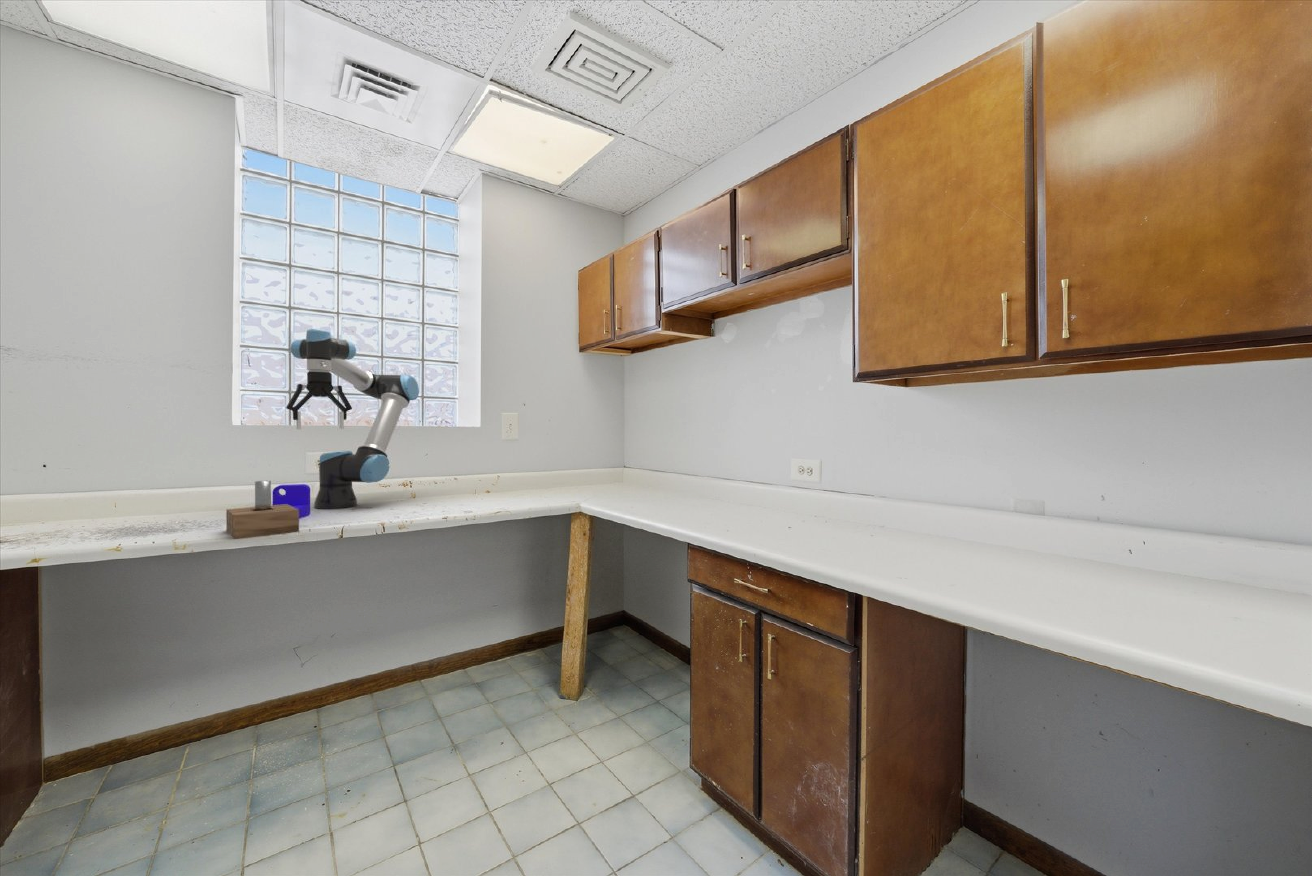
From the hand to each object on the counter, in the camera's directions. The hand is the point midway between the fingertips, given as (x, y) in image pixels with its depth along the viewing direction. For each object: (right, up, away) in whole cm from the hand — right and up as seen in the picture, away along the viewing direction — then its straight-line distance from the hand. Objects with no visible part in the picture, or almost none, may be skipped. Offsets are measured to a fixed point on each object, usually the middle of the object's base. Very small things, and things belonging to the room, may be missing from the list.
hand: (320, 429), depth 184 cm
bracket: (-10, -33, -3) cm, 35 cm away
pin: (-2, -31, -24) cm, 40 cm away
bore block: (-2, -33, -24) cm, 41 cm away
